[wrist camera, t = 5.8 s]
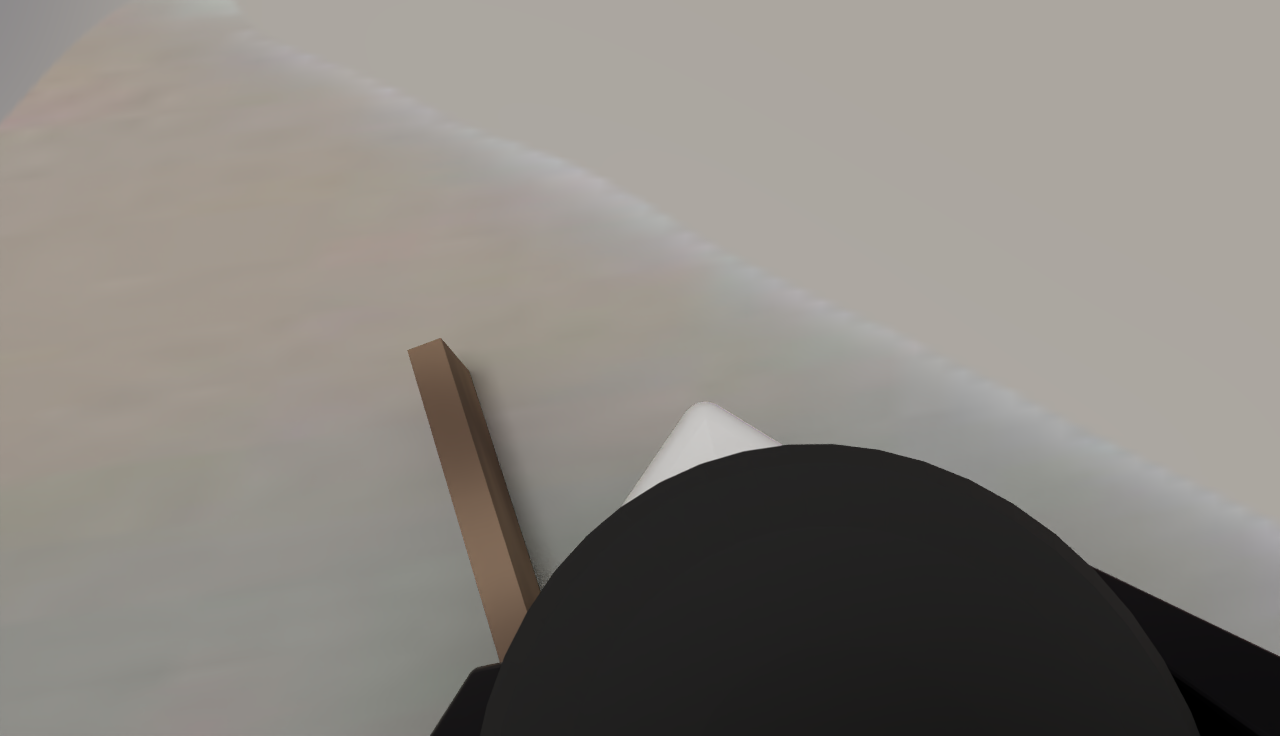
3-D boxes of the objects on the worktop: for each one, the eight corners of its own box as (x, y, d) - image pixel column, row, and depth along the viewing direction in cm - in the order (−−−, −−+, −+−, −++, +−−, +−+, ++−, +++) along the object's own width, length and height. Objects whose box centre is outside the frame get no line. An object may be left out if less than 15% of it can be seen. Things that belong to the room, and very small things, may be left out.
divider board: (707, 1107, 18) (711, 1197, 15) (668, 1125, 18) (665, 1218, 15) (469, 371, 25) (440, 337, 22) (440, 382, 24) (407, 350, 22)
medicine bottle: (695, 477, 18) (704, 224, 7) (967, 654, 17) (1542, 690, 5) (518, 744, 17) (162, 970, 5) (802, 971, 15) (1147, 1990, 4)
